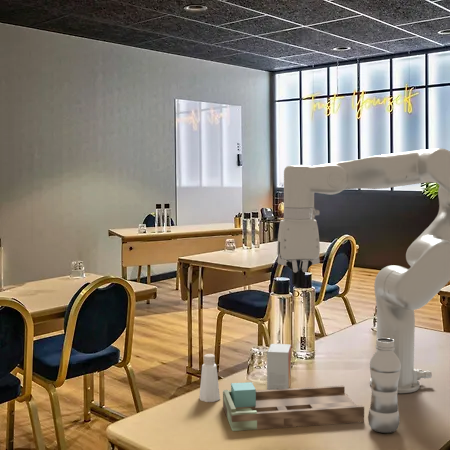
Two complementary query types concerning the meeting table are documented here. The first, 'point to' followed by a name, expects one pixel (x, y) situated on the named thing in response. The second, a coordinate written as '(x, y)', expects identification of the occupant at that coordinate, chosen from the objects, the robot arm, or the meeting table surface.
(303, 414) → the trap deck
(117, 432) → the meeting table surface
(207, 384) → the salt shaker
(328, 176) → the robot arm
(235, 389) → the block
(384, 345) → the plastic bottle
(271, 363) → the small box
